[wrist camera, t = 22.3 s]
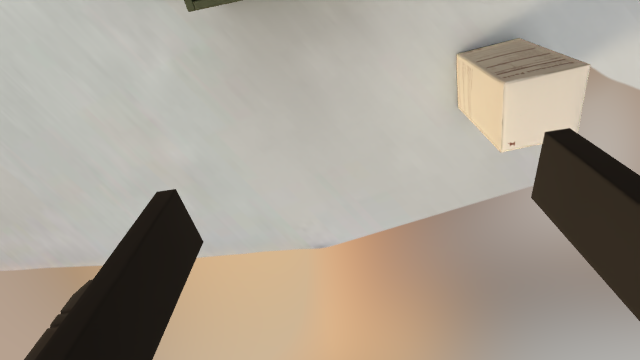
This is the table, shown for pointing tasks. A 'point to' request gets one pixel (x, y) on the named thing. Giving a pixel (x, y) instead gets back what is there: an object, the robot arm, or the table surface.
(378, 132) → the table surface
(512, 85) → the white packaging box
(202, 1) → the trash bin
